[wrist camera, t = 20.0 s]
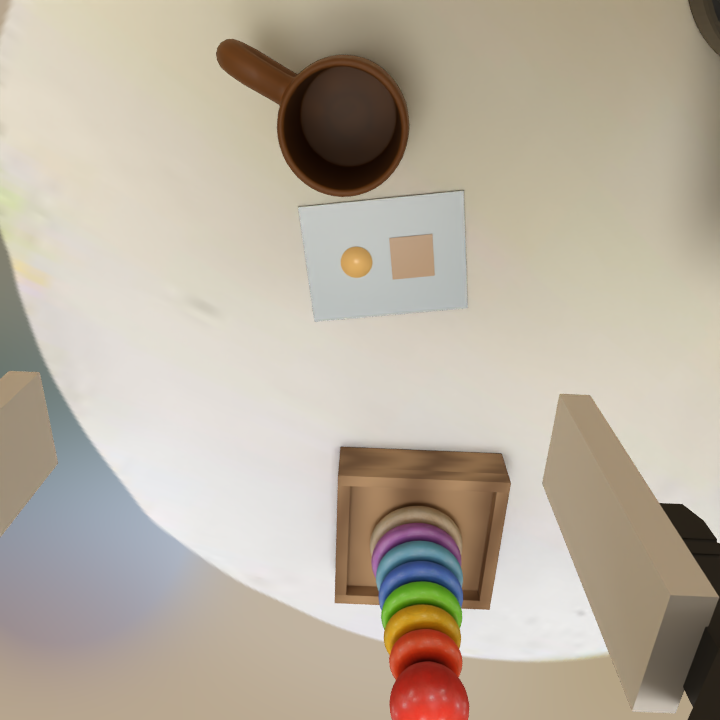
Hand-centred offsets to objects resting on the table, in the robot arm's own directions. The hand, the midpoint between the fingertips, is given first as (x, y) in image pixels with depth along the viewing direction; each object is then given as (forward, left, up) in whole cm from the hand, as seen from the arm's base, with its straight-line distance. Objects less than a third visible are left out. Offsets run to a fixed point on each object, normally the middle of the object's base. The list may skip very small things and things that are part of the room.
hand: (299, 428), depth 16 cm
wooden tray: (-7, +29, -33) cm, 44 cm away
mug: (+2, -6, -33) cm, 34 cm away
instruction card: (-3, +5, -33) cm, 33 cm away
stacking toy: (-7, +29, -30) cm, 42 cm away
